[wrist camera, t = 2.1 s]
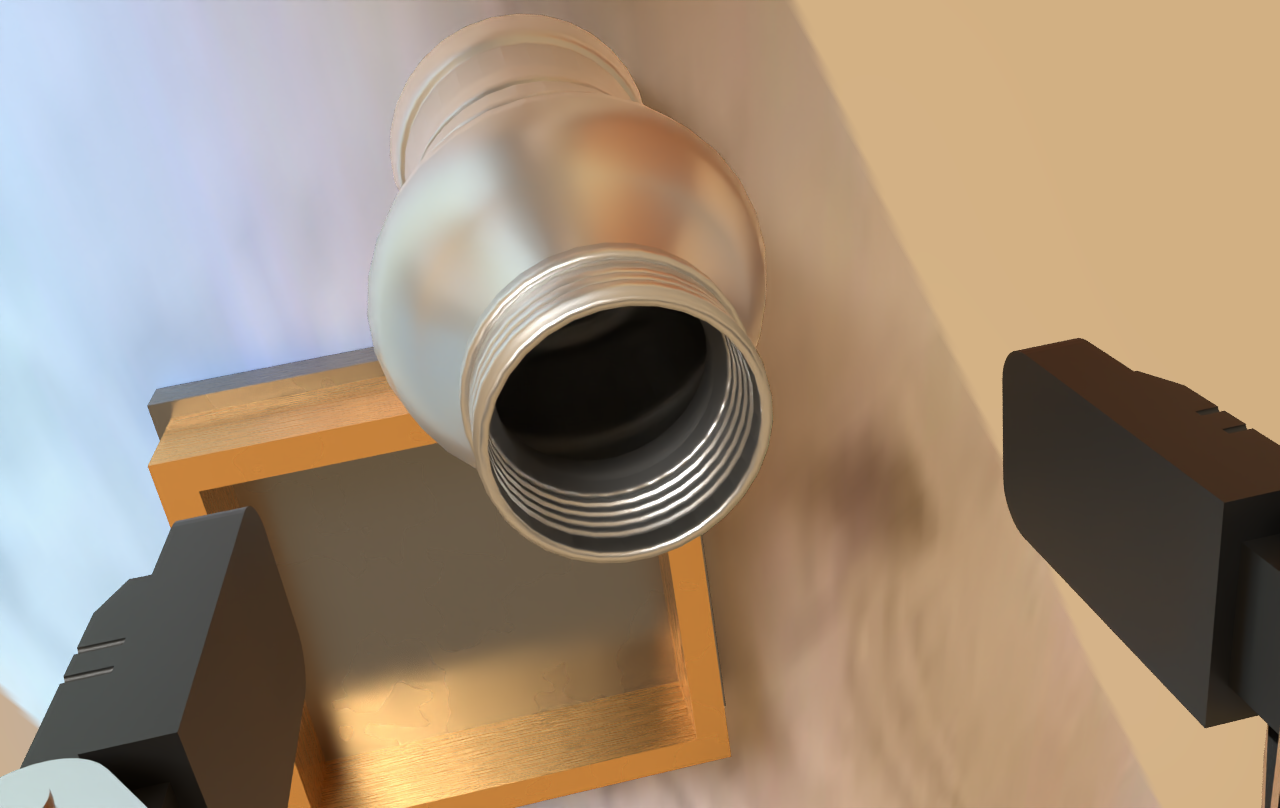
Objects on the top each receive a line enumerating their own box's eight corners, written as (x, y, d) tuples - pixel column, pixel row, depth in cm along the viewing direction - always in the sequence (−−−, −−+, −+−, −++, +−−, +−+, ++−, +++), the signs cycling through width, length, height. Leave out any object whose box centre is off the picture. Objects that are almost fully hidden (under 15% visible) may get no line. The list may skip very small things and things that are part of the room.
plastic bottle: (675, 151, 33) (982, 462, 15) (486, 287, 33) (558, 744, 15) (543, -48, 30) (720, 35, 12) (340, 105, 31) (219, 402, 13)
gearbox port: (156, 389, 33) (121, 452, 29) (662, 290, 34) (691, 339, 31) (296, 780, 39) (282, 874, 36) (717, 683, 41) (747, 764, 37)
